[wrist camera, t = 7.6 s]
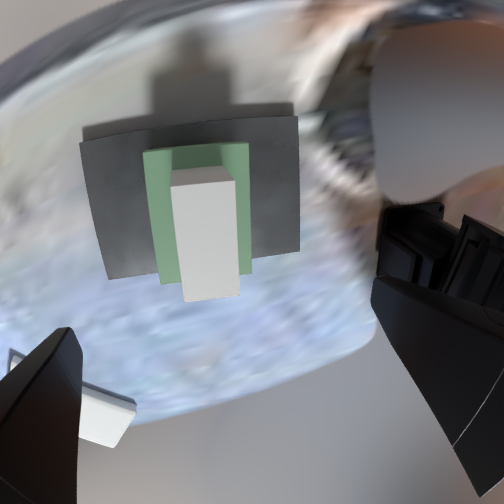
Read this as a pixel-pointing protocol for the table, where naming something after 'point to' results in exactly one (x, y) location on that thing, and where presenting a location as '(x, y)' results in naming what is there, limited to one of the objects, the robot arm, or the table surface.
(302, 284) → the table surface
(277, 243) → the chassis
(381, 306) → the robot arm
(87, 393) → the external hard drive
